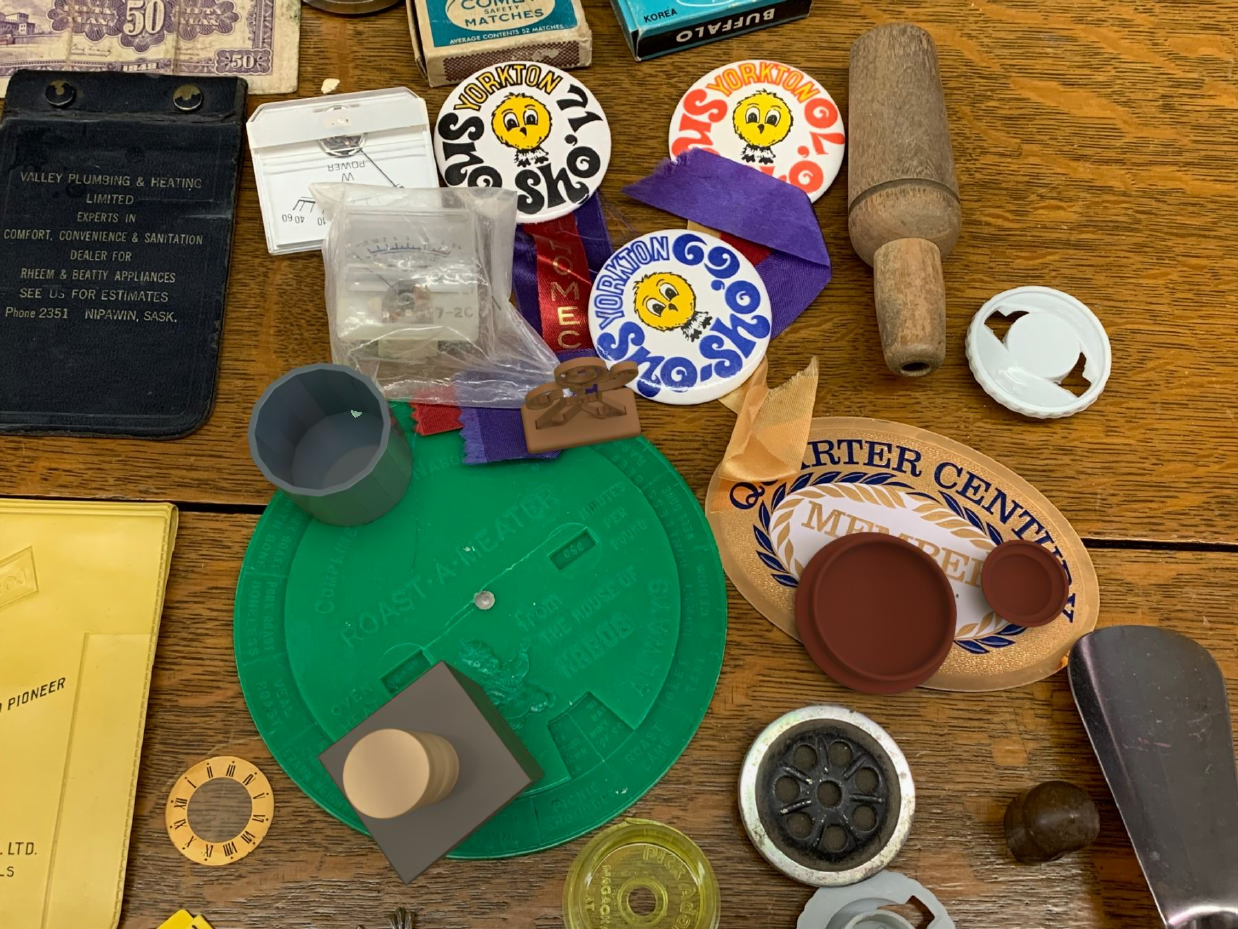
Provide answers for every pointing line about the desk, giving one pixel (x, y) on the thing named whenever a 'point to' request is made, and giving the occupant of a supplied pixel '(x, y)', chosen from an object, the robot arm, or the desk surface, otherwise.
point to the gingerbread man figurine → (581, 407)
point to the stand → (486, 767)
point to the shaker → (399, 772)
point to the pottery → (909, 606)
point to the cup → (331, 444)
